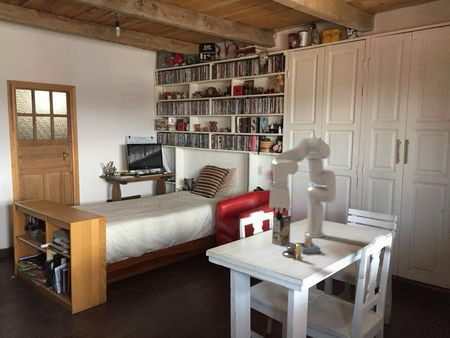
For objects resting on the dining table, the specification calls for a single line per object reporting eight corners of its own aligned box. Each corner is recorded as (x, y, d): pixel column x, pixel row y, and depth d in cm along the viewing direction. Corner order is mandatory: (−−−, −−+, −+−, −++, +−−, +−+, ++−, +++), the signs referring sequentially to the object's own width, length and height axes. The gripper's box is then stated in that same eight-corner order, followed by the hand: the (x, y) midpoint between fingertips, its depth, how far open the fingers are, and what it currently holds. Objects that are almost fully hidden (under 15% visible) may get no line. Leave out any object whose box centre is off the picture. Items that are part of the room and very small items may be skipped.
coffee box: (280, 245, 222) (281, 218, 221) (271, 243, 227) (272, 216, 225) (289, 242, 229) (291, 215, 227) (281, 240, 233) (282, 214, 232)
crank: (285, 251, 207) (286, 239, 207) (292, 251, 209) (293, 239, 208) (295, 258, 197) (296, 245, 196) (303, 257, 198) (303, 244, 198)
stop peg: (302, 248, 215) (303, 236, 215) (309, 247, 217) (309, 235, 216) (306, 250, 212) (307, 237, 211) (313, 249, 213) (313, 237, 212)
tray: (295, 248, 218) (296, 243, 218) (312, 247, 220) (312, 242, 220) (302, 253, 208) (303, 248, 208) (320, 253, 210) (320, 247, 210)
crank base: (280, 252, 210) (280, 250, 209) (295, 252, 211) (296, 250, 211) (288, 260, 198) (288, 258, 198) (304, 259, 200) (304, 257, 199)
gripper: (264, 185, 198) (263, 220, 201) (293, 187, 193) (292, 223, 195) (267, 183, 205) (267, 217, 208) (296, 185, 200) (295, 219, 202)
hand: (279, 220), depth 201 cm, fingers closed
